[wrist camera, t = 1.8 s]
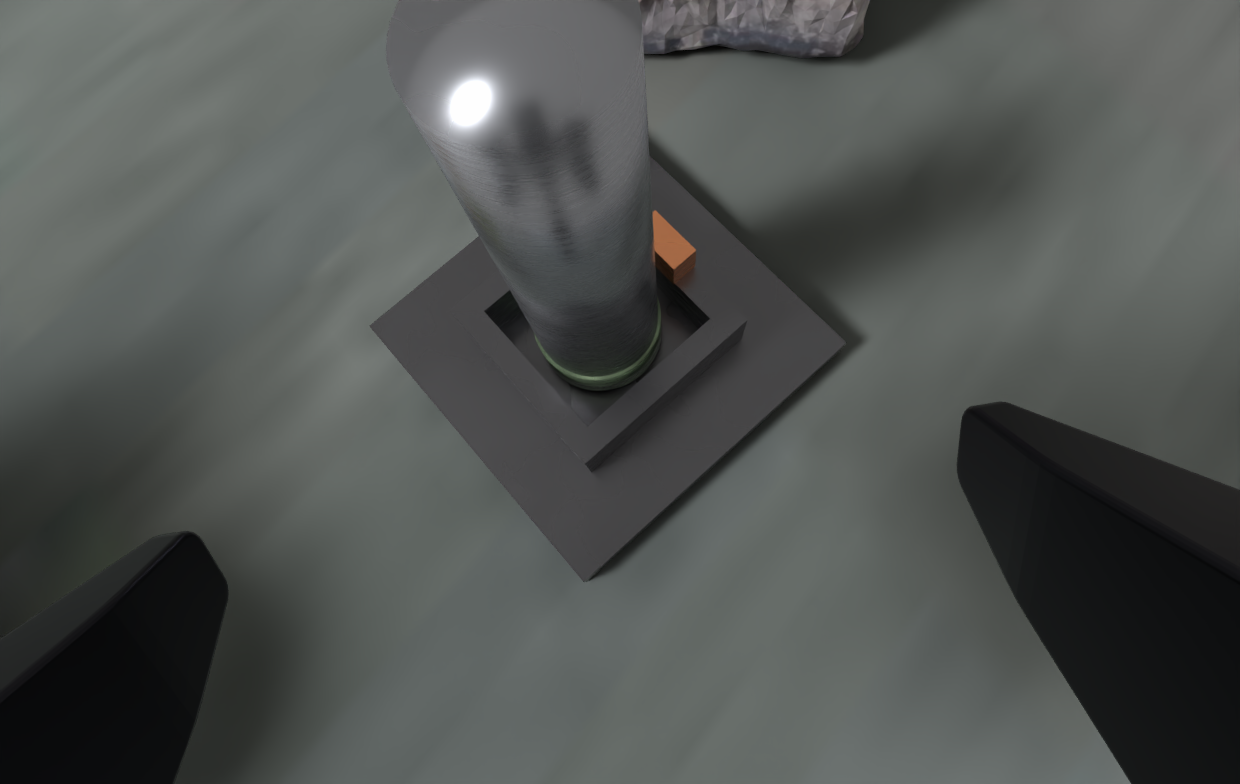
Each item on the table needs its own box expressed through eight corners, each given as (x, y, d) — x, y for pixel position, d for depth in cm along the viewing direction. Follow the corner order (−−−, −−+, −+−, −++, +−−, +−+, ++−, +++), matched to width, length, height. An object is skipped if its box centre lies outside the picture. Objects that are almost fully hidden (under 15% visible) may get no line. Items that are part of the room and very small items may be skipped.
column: (687, 336, 21) (706, 32, 9) (595, 416, 20) (492, 207, 9) (606, 253, 22) (529, -119, 10) (516, 329, 21) (328, 33, 10)
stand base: (840, 350, 21) (870, 310, 18) (586, 581, 20) (570, 582, 17) (617, 138, 24) (609, 67, 20) (379, 334, 22) (329, 293, 19)
